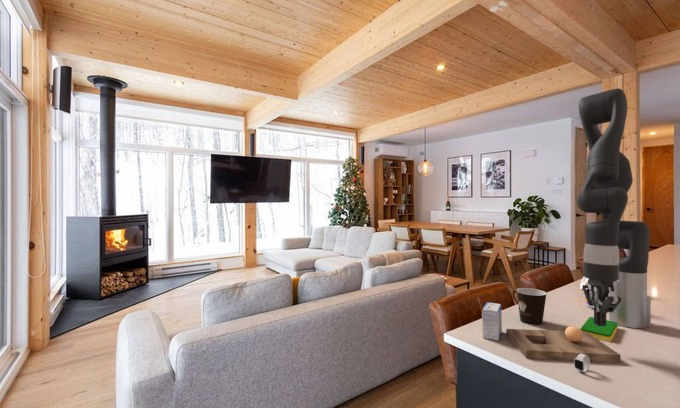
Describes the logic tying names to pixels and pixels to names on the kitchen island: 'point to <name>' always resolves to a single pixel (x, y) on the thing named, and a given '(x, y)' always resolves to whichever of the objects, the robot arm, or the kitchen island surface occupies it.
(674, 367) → the kitchen island surface
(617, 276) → the robot arm
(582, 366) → the smartwatch
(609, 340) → the dish sponge
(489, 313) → the medicine box
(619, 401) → the kitchen island surface
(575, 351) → the walnut board
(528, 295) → the coffee mug
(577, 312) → the kitchen island surface
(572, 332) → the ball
